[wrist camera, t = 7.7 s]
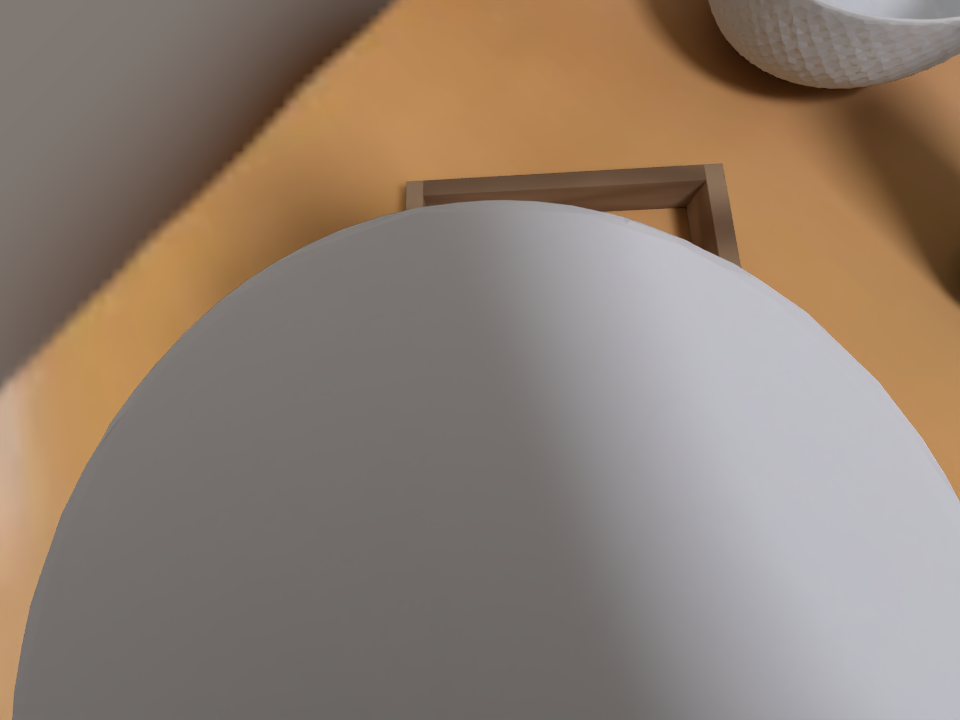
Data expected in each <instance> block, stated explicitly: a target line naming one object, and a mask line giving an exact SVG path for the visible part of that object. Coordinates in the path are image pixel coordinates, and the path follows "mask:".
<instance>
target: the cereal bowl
mask: <svg viewBox="0 0 960 720" xmlns="http://www.w3.org/2000/svg"><path fill="white" fill-rule="evenodd" d="M709 5H710V7H711V13H712V14H713V16H714V17H715V20H716V24H717V25H718V27H719V28H720V30H721V32H722V34H723V35H724V36H725V38H726V40H727V41H728V42H729V43H730V44H731V45H732V47H734V48H735V50H736V51H738V53H739V54H740V55H741V56H744V57H745V59H746V60H748V61H749V62H750V63H751V64H754V65H756V66H757V67H758V68H760V69H761V70H762V71H765V72H768V73H769V74H771V75H774V76H775V77H777V78H781V79H782V80H787V81H789V82H792V83H797V84H802V85H804V86H811V87H816V88H828V89H838V88H846V89H850V88H855V87H868V86H872V85H879V84H884V83H887V82H891V81H896V80H899V79H901V78H904V77H908V76H912V75H914V74H916V73H918V72H921V71H924V70H928V69H930V68H932V67H933V66H935V65H938V64H940V63H943V62H945V61H947V60H948V59H950V58H951V57H953V56H955V55H958V54H960V0H709Z"/></svg>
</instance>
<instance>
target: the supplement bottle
mask: <svg viewBox="0 0 960 720" xmlns="http://www.w3.org/2000/svg"><path fill="white" fill-rule="evenodd" d="M12 720H960V501H959V499H958V498H957V496H956V494H955V492H954V490H953V488H952V486H951V485H950V483H949V481H948V479H947V477H946V475H945V474H944V472H943V471H942V469H941V467H940V466H939V464H938V463H937V461H936V459H935V458H934V456H933V455H932V453H931V451H930V450H929V448H928V447H927V445H926V443H925V442H924V440H923V439H922V437H921V436H920V435H919V434H918V432H917V431H916V430H915V428H914V427H913V426H912V424H911V423H910V422H909V421H908V419H907V418H906V417H905V415H904V414H903V413H902V412H901V410H900V409H899V408H898V406H897V405H896V404H895V402H894V401H893V400H892V399H891V397H890V396H889V395H888V393H887V392H886V391H885V389H884V388H883V387H882V386H881V384H880V383H879V382H878V381H877V380H876V379H875V378H874V377H873V376H872V375H871V374H870V373H869V372H868V371H867V370H866V369H865V368H864V367H863V366H862V365H861V364H860V363H859V362H858V361H857V360H856V359H855V358H854V357H852V356H851V355H850V354H849V353H848V352H847V351H846V350H845V349H844V348H843V347H842V346H841V345H840V344H839V343H838V342H837V341H836V340H835V339H834V338H833V337H832V336H831V335H830V334H829V333H828V332H827V331H826V330H825V329H824V328H823V327H821V326H820V325H819V324H818V323H817V322H816V321H815V320H814V319H813V318H812V317H811V316H810V315H809V314H808V313H807V312H806V311H804V310H803V309H801V308H800V307H798V306H797V305H795V304H794V303H793V302H791V301H790V300H788V299H787V298H785V297H784V296H782V295H781V294H780V293H778V292H777V291H775V290H774V289H772V288H771V287H770V286H768V285H767V284H765V283H764V282H762V281H761V280H759V279H758V278H756V277H754V276H753V275H751V274H750V273H748V272H746V271H745V270H743V269H742V268H740V267H739V266H737V265H735V264H734V263H731V262H729V261H727V260H725V259H723V258H721V257H719V256H716V255H714V254H712V253H710V252H708V251H706V250H704V249H702V248H700V247H698V246H696V245H694V244H692V243H690V242H689V241H687V240H685V239H682V238H679V237H676V236H674V235H671V234H669V233H666V232H664V231H661V230H659V229H656V228H654V227H651V226H648V225H646V224H643V223H640V222H637V221H634V220H631V219H628V218H625V217H621V216H617V215H613V214H609V213H605V212H600V211H595V210H591V209H586V208H581V207H577V206H572V205H564V204H555V203H547V202H539V201H518V200H485V201H472V202H459V203H451V204H444V205H435V206H427V207H419V208H415V209H410V210H406V211H402V212H397V213H393V214H389V215H385V216H381V217H378V218H375V219H372V220H369V221H366V222H363V223H360V224H357V225H354V226H351V227H348V228H345V229H342V230H339V231H337V232H335V233H333V234H330V235H328V236H326V237H324V238H322V239H319V240H317V241H315V242H313V243H310V244H308V245H307V246H305V247H303V248H301V249H299V250H297V251H295V252H293V253H291V254H289V255H288V256H286V257H284V258H282V259H280V260H279V261H277V262H275V263H273V264H272V265H270V266H268V267H267V268H265V269H264V270H262V271H261V272H259V273H258V274H256V275H254V276H253V277H251V278H250V279H248V280H247V281H246V282H244V283H243V284H242V285H240V286H239V287H238V288H236V289H235V290H234V291H232V292H231V293H230V294H228V295H227V296H226V297H224V298H223V299H222V300H220V301H219V302H218V303H217V304H216V305H215V306H214V307H212V308H211V309H210V310H209V311H208V312H207V313H206V314H205V315H204V316H203V317H201V318H200V319H199V320H198V321H197V322H196V323H195V324H194V325H193V326H192V327H190V328H189V329H188V330H187V331H186V332H185V333H184V334H183V335H182V336H181V337H180V338H179V340H178V341H177V342H176V343H175V344H174V345H173V346H172V348H171V349H170V350H169V351H168V352H167V353H166V354H165V355H164V356H163V357H162V358H161V359H160V360H159V361H158V362H157V363H156V364H155V366H154V367H153V368H152V369H151V371H150V372H149V373H148V374H147V375H146V377H145V378H144V379H143V380H142V382H141V383H140V384H139V385H138V386H137V388H136V389H135V390H134V391H133V393H132V394H131V396H130V397H129V398H128V400H127V401H126V402H125V404H124V405H123V407H122V408H121V409H120V411H119V412H118V413H117V415H116V416H115V418H114V419H113V420H112V422H111V423H110V425H109V427H108V429H107V431H106V433H105V435H104V437H103V438H102V440H101V442H100V443H99V445H98V447H97V448H96V450H95V452H94V453H93V455H92V456H91V458H90V460H89V461H88V463H87V465H86V467H85V469H84V470H83V472H82V474H81V476H80V478H79V480H78V482H77V484H76V486H75V488H74V490H73V492H72V494H71V497H70V499H69V501H68V503H67V505H66V507H65V509H64V511H63V513H62V515H61V517H60V520H59V523H58V526H57V529H56V532H55V535H54V538H53V541H52V544H51V547H50V549H49V552H48V555H47V558H46V561H45V563H44V566H43V569H42V572H41V575H40V578H39V581H38V584H37V587H36V590H35V593H34V596H33V599H32V602H31V605H30V610H29V615H28V619H27V624H26V629H25V634H24V638H23V643H22V649H21V655H20V661H19V667H18V673H17V679H16V685H15V691H14V703H13V717H12Z"/></svg>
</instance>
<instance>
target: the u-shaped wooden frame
mask: <svg viewBox="0 0 960 720" xmlns="http://www.w3.org/2000/svg"><path fill="white" fill-rule="evenodd" d="M485 200H518V201H539V202H547V203H555V204H564V205H572V206H577V207H581V208H586V209H591V210H595V211H600V212H603V211H622V210H642V209H662V208H681V207H686V209H687V216H688V222H689V229H690V236H691V243H692V244H694V245H696V246H698V247H700V248H702V249H704V250H706V251H708V252H710V253H712V254H714V255H716V256H719V257H721V258H723V259H725V260H727V261H729V262H731V263H734V264H735V265H737V266H739V267H740V268H741V265H740V260H739V254H738V248H737V243H736V237H735V231H734V226H733V220H732V214H731V209H730V203H729V197H728V192H727V186H726V180H725V175H724V169H723V164H705V165H688V166H671V167H653V168H636V169H619V170H601V171H584V172H567V173H549V174H532V175H515V176H497V177H480V178H463V179H446V180H428V181H411V182H407V186H406V210H410V209H415V208H419V207H427V206H435V205H444V204H451V203H459V202H472V201H485Z"/></svg>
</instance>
